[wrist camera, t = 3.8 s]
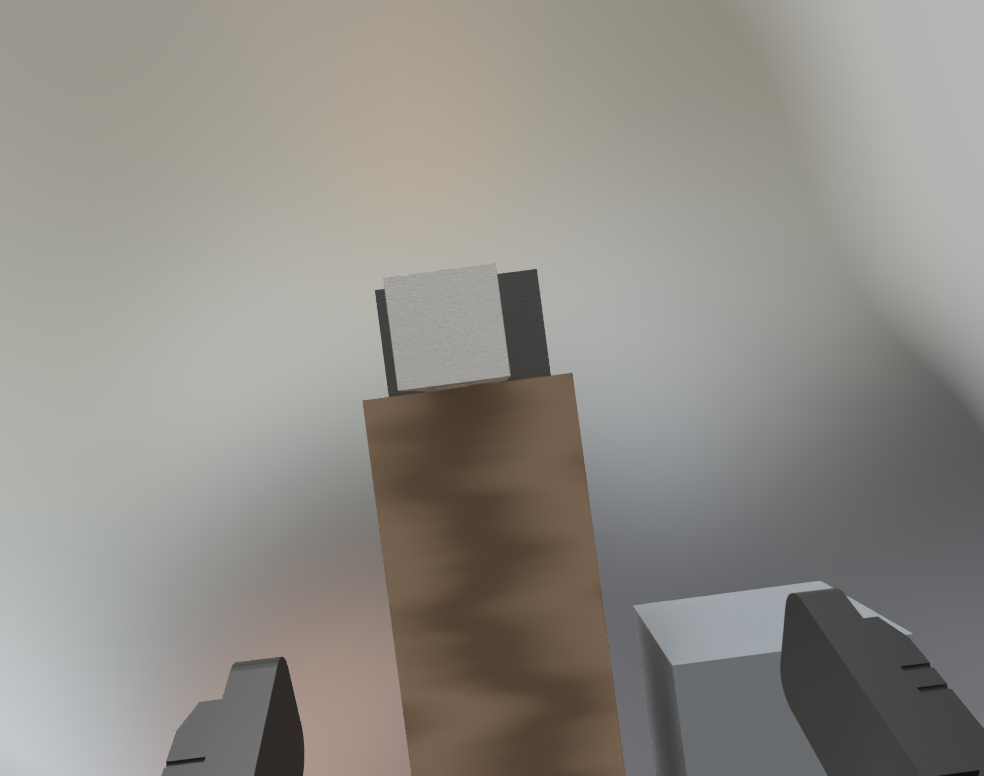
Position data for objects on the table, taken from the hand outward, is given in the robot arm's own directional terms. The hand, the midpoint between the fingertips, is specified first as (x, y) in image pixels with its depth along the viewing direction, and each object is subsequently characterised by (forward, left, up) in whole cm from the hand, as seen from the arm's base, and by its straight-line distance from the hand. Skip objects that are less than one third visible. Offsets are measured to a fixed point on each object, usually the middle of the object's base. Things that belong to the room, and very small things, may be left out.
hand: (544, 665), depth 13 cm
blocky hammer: (-1, +13, +5) cm, 14 cm away
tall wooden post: (-1, +18, -27) cm, 33 cm away
